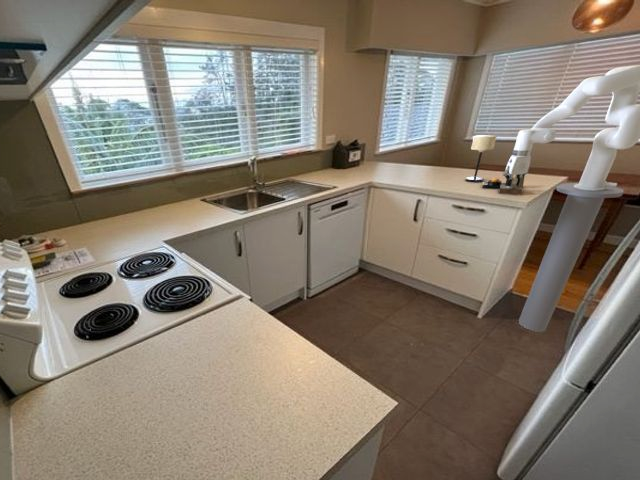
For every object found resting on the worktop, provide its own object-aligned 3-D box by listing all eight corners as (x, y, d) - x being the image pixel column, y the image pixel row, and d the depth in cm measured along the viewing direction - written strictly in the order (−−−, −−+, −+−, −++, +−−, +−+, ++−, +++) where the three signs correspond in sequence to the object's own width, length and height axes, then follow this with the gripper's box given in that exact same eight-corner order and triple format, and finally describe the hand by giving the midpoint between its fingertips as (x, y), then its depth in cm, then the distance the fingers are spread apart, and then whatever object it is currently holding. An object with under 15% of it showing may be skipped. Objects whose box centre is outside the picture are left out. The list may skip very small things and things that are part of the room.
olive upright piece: (510, 188, 183) (515, 170, 178) (510, 186, 187) (515, 168, 182) (522, 189, 179) (528, 170, 175) (522, 186, 184) (528, 168, 179)
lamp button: (498, 181, 187) (499, 178, 186) (498, 182, 184) (499, 179, 183) (491, 180, 189) (492, 177, 188) (491, 181, 186) (492, 179, 185)
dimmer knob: (517, 187, 173) (520, 178, 170) (510, 188, 173) (513, 178, 170) (511, 186, 177) (514, 176, 174) (505, 186, 176) (507, 177, 174)
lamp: (485, 179, 206) (496, 134, 193) (484, 183, 198) (496, 136, 185) (464, 178, 213) (474, 135, 200) (463, 182, 204) (473, 137, 192)
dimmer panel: (520, 191, 176) (521, 185, 175) (520, 194, 170) (522, 189, 169) (499, 189, 182) (500, 184, 181) (498, 193, 176) (500, 188, 174)
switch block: (504, 186, 188) (506, 179, 186) (504, 189, 182) (506, 183, 180) (483, 185, 194) (484, 178, 192) (482, 188, 188) (483, 181, 186)
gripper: (512, 155, 163) (502, 188, 171) (542, 152, 163) (531, 185, 171) (501, 153, 170) (492, 185, 178) (530, 151, 170) (520, 183, 178)
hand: (511, 185), depth 174 cm, fingers closed on dimmer knob, 4 cm apart
